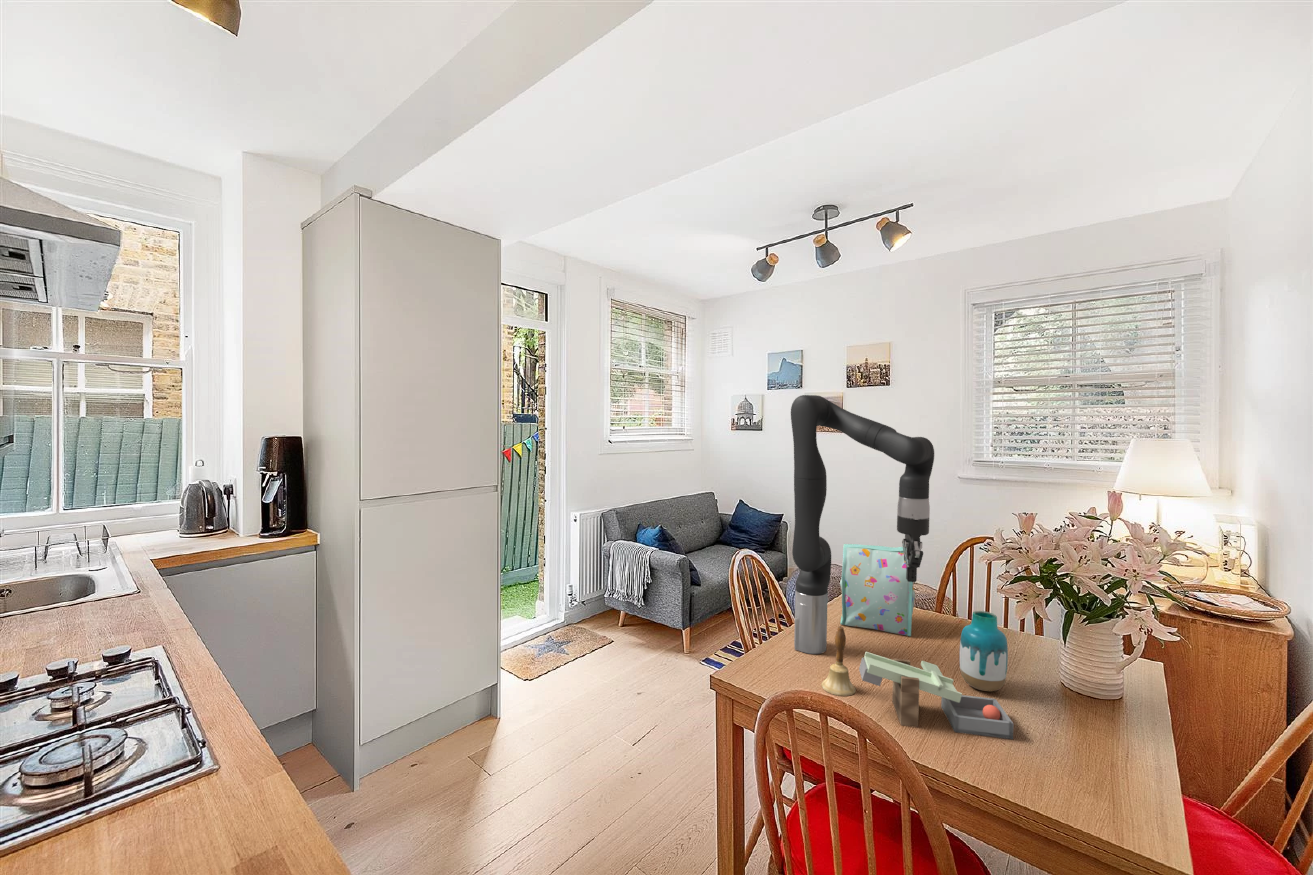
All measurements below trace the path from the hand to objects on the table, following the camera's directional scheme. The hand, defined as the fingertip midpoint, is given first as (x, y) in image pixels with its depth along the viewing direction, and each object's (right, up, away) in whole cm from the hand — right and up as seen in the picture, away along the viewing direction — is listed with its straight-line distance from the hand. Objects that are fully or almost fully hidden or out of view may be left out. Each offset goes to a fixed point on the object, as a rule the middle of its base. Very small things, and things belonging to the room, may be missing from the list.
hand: (911, 581), depth 143 cm
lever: (-7, -22, -9) cm, 24 cm away
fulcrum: (-8, -28, -13) cm, 32 cm away
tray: (+7, -28, -17) cm, 33 cm away
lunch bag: (+7, -25, +41) cm, 48 cm away
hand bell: (-19, -27, -1) cm, 33 cm away
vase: (+18, -27, -1) cm, 33 cm away
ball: (+10, -25, -18) cm, 32 cm away
